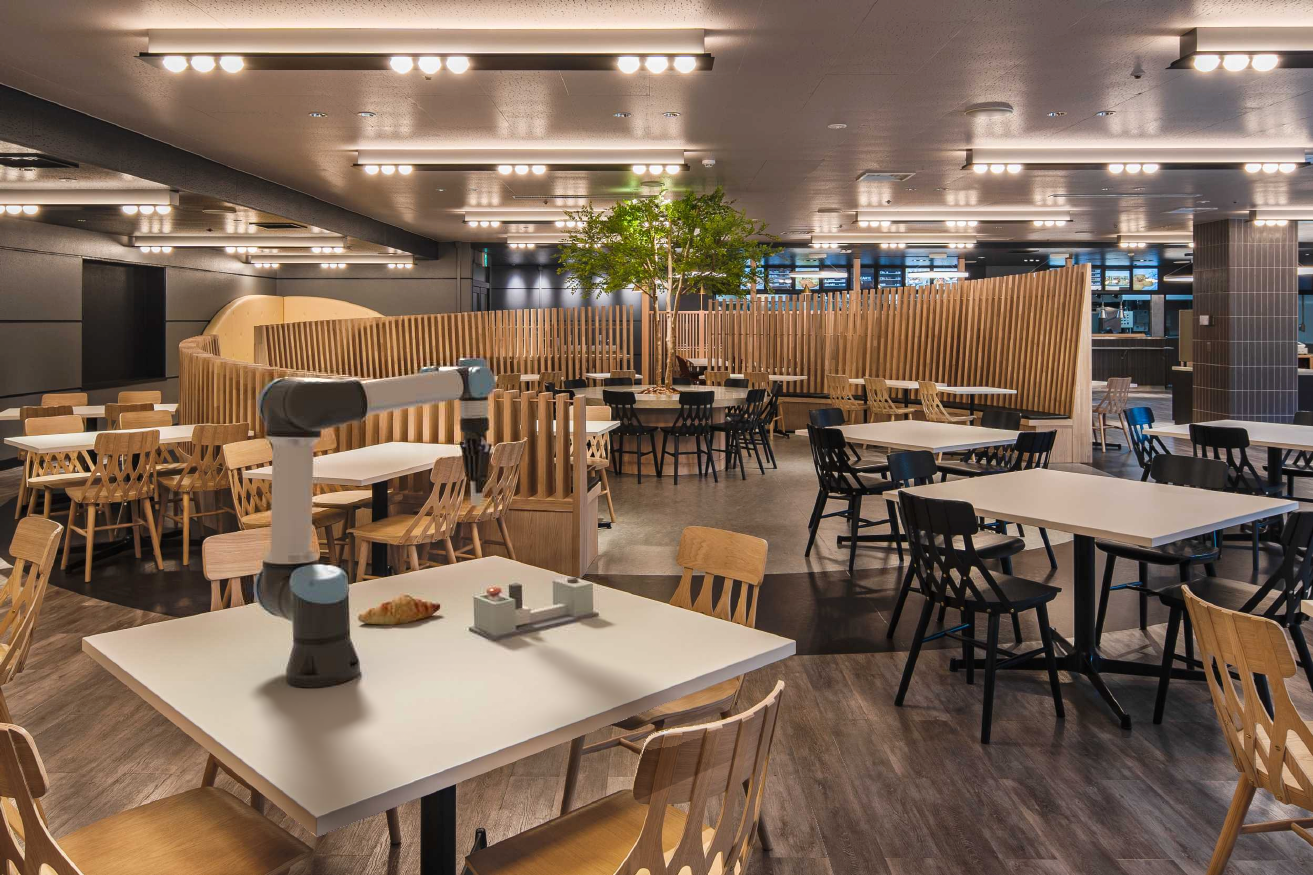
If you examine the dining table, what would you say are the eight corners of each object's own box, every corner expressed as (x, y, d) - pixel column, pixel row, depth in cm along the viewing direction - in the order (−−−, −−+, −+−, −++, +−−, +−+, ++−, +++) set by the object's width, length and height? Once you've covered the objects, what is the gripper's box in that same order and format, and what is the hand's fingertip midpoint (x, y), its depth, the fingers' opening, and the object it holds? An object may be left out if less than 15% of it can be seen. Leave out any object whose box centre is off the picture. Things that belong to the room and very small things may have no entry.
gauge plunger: (492, 626, 226) (491, 592, 225) (484, 623, 228) (483, 589, 228) (504, 623, 228) (503, 589, 227) (497, 620, 231) (496, 586, 230)
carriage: (514, 626, 228) (513, 588, 228) (501, 621, 233) (500, 584, 232) (531, 622, 232) (530, 585, 231) (518, 617, 236) (517, 580, 235)
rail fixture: (493, 641, 221) (492, 602, 220) (468, 630, 230) (467, 593, 230) (598, 615, 242) (598, 580, 241) (572, 606, 251) (571, 572, 250)
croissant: (360, 641, 234) (360, 618, 230) (354, 614, 242) (355, 591, 238) (443, 628, 243) (445, 605, 239) (435, 602, 251) (436, 580, 247)
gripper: (499, 417, 239) (502, 506, 241) (474, 414, 248) (477, 500, 251) (474, 418, 234) (476, 509, 236) (449, 416, 244) (452, 503, 246)
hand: (477, 504), depth 243 cm, fingers closed
